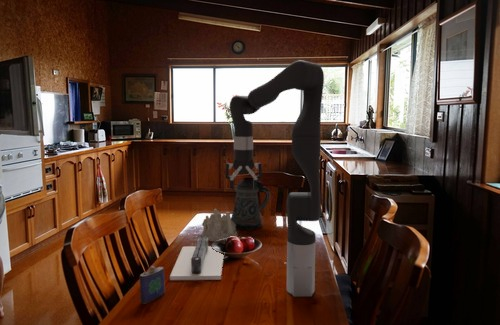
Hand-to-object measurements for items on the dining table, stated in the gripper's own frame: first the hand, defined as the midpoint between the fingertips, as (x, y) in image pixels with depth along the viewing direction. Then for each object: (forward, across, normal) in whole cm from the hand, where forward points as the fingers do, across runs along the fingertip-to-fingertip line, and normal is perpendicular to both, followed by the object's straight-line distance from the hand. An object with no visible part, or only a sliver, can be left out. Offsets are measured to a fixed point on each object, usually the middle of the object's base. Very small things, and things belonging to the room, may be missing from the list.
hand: (243, 189), depth 153 cm
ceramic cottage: (+29, -10, +32) cm, 44 cm away
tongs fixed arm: (+27, -17, -3) cm, 32 cm away
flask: (+30, -30, -29) cm, 52 cm away
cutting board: (+29, -17, -2) cm, 34 cm away
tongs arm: (+27, -18, -1) cm, 33 cm away
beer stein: (+28, +5, +47) cm, 55 cm away
